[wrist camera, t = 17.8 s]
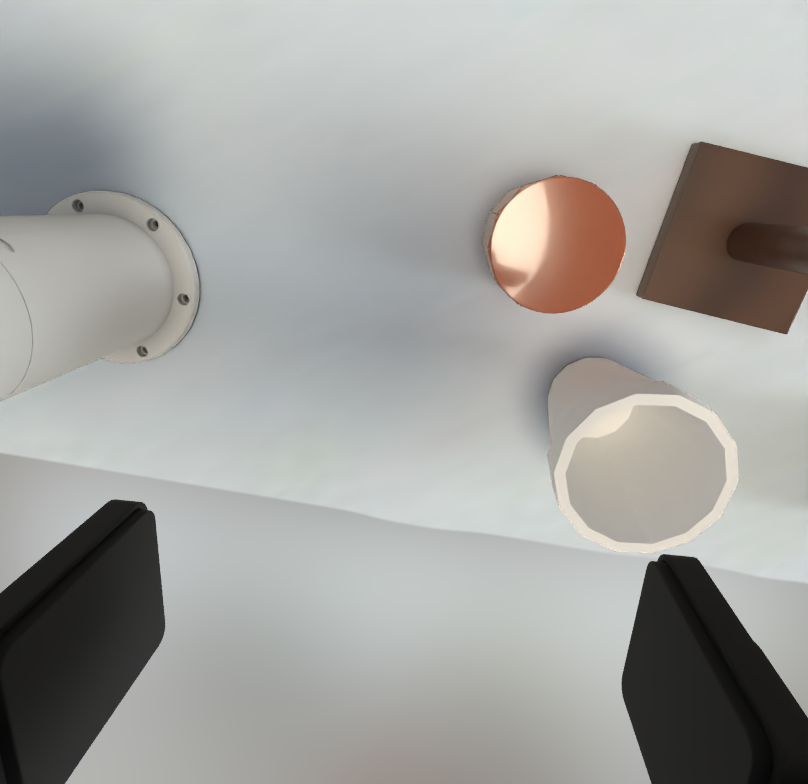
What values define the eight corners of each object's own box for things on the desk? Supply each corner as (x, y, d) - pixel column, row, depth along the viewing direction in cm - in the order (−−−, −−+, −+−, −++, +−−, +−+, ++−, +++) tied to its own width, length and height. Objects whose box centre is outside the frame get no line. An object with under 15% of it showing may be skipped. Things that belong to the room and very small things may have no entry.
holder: (635, 295, 40) (729, 343, 26) (691, 143, 36) (833, 106, 23) (775, 330, 40) (944, 397, 26) (844, 181, 36) (1080, 167, 23)
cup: (471, 276, 40) (474, 296, 32) (499, 171, 38) (511, 161, 30) (569, 301, 40) (599, 327, 32) (604, 197, 38) (646, 194, 29)
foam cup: (633, 315, 40) (710, 365, 28) (673, 427, 42) (761, 518, 30) (507, 368, 42) (527, 435, 30) (552, 472, 44) (588, 574, 32)
